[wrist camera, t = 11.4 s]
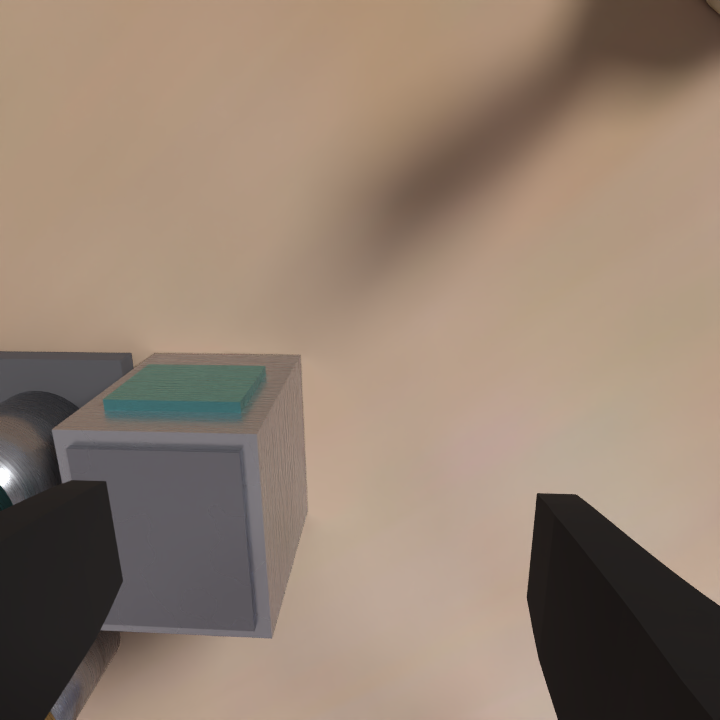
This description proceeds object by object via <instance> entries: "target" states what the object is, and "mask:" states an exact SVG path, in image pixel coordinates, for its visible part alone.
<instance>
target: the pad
mask: <svg viewBox="0 0 720 720" xmlns="http://www.w3.org/2000/svg"><path fill="white" fill-rule="evenodd" d="M132 369H134V368H133V362H132V355H131V353H87V352H3V351H0V403H1V402H3V401H5V400H7V399H8V398H10V397H12V396H14V395H17V394H19V393H23V392H28V391H43V392H49V393H52V394H56V395H58V396H60V397H63V398H65V399H66V400H68V401H70V402H71V403H73V404H74V405H76V406H77V407H78V408H79V409H80V408H81V407H83V406H84V405H85V404H87V403H88V402H89V401H91V400H92V399H93V398H95V397H96V396H97V395H99V394H100V393H101V392H103V391H104V390H106V389H107V388H108V387H110V386H111V385H112V384H114V383H115V382H116V381H118V380H119V379H120V378H122V377H123V376H124V375H126V374H127V373H128V372H130V371H131V370H132Z"/></svg>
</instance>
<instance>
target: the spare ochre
mask: <svg viewBox="0 0 720 720" xmlns="http://www.w3.org/2000/svg"><path fill="white" fill-rule="evenodd" d="M119 643H120V631H105V630H100V632H99V634H98V636H97V638H96V639H95V641H94V643H93V644H92V646H91V648H90V649H89V651H88V653H87V654H86V656H85V657H84V659H83V660H82V662H81V664H80V665H79V667H78V668H77V670H76V672H75V673H74V675H73V676H72V678H71V680H70V681H69V683H68V684H67V686H66V687H65V689H64V690H63V692H62V694H61V695H60V697H59V698H58V700H57V701H56V703H55V704H54V706H53V708H52V709H51V711H50V712H49V714H48V715H47V717H46V718H45V720H76V719H77V717H78V715H79V714H80V712H81V710H82V709H83V707H84V705H85V703H86V702H87V700H88V698H89V697H90V695H91V693H92V692H93V690H94V688H95V687H96V685H97V683H98V682H99V680H100V678H101V677H102V675H103V673H104V672H105V670H106V668H107V666H108V665H109V663H110V661H111V660H112V658H113V656H114V655H115V653H116V651H117V649H118V647H119Z"/></svg>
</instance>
